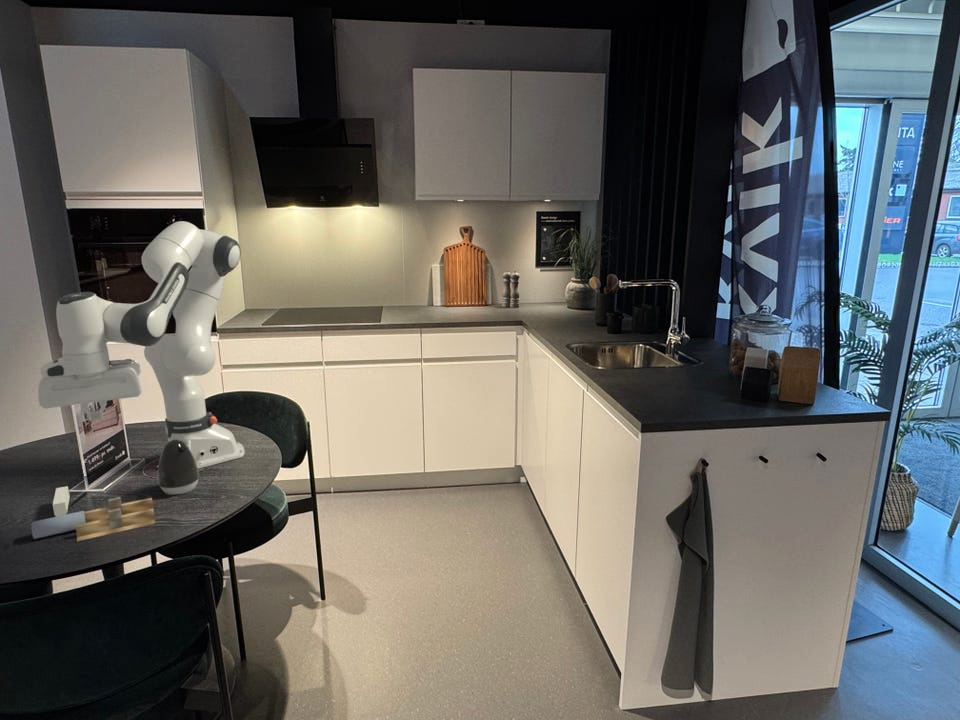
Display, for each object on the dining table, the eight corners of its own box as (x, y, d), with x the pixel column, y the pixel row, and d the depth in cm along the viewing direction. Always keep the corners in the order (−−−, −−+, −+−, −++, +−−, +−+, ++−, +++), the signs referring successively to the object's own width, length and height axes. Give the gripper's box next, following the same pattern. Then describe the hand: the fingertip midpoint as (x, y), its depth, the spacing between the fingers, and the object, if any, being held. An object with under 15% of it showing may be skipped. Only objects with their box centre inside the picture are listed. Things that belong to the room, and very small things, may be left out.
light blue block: (86, 527, 143) (84, 510, 143) (84, 527, 139) (82, 510, 140) (36, 538, 138) (33, 521, 138) (32, 539, 135) (30, 522, 135)
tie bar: (70, 503, 155) (67, 486, 154) (68, 520, 147) (64, 502, 146) (59, 505, 154) (56, 488, 153) (56, 523, 146) (52, 504, 144)
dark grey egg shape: (174, 503, 155) (166, 450, 152) (152, 494, 161) (144, 442, 157) (209, 489, 164) (203, 438, 160) (187, 480, 169) (180, 430, 166)
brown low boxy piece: (153, 506, 154) (150, 487, 152) (155, 526, 144) (152, 506, 142) (40, 531, 142) (36, 510, 140) (34, 554, 132) (30, 532, 130)
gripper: (138, 355, 144) (145, 408, 147) (35, 365, 134) (45, 422, 137) (139, 360, 139) (146, 415, 142) (31, 371, 129) (42, 431, 132)
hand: (96, 419), depth 139 cm, fingers closed
